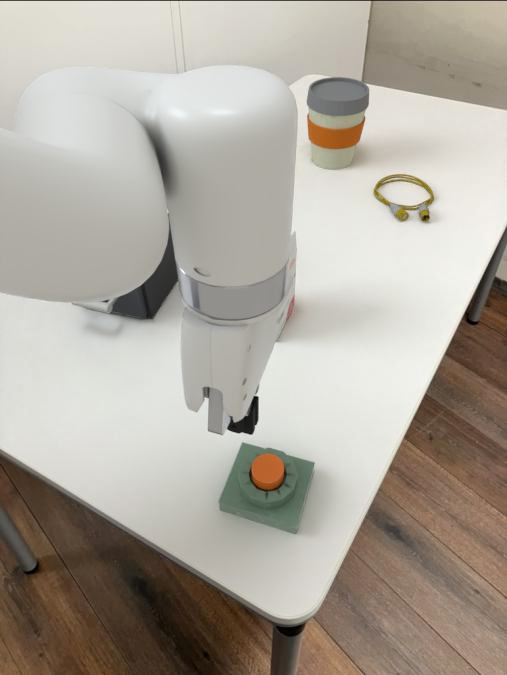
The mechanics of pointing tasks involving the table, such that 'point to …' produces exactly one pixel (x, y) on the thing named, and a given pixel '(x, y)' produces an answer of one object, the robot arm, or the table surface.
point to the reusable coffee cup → (336, 120)
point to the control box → (267, 505)
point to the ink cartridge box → (289, 302)
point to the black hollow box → (160, 280)
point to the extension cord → (399, 209)
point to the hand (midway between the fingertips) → (239, 423)
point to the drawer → (121, 304)
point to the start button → (267, 471)
